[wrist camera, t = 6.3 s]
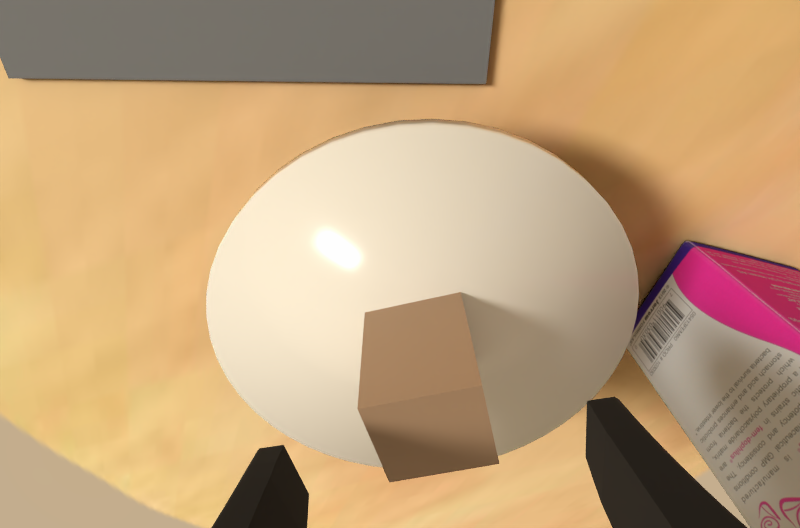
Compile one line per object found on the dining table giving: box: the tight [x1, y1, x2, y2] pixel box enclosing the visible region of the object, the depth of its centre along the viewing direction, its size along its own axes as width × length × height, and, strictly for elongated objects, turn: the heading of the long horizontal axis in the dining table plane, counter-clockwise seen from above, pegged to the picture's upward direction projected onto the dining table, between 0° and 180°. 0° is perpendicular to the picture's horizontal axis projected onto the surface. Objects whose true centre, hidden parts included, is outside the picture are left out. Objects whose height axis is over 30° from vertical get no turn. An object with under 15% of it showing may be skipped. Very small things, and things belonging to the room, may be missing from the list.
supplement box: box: [627, 241, 800, 528], centre depth 16 cm, size 6×6×12 cm
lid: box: [206, 119, 639, 482], centre depth 14 cm, size 14×14×5 cm
